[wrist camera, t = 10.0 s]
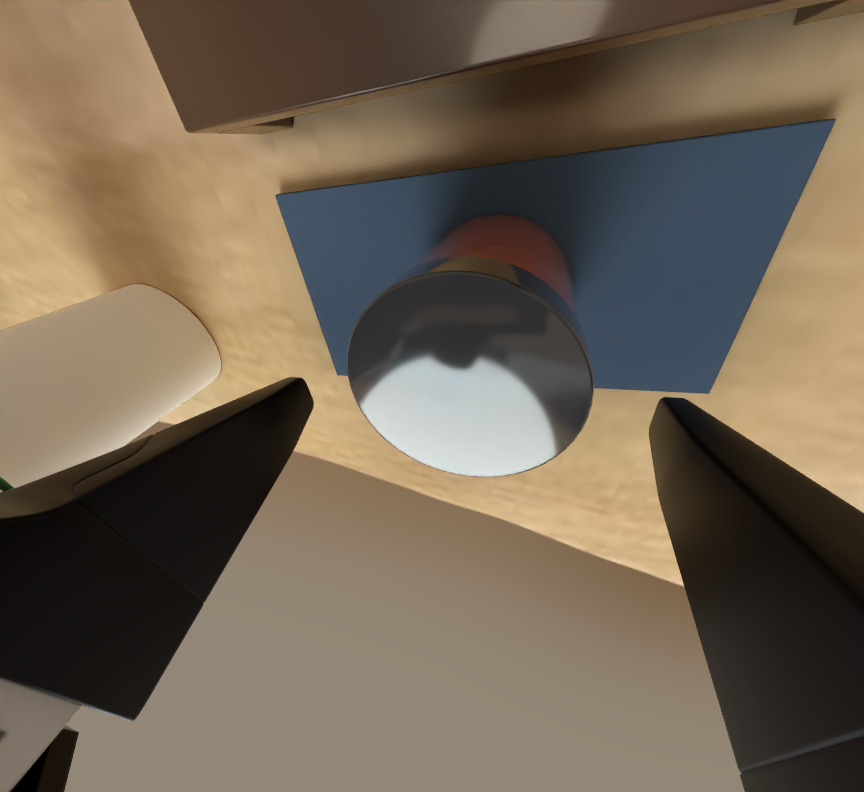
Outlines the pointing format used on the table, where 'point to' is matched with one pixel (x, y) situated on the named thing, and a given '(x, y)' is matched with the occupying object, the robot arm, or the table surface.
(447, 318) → the jar
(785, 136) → the mat
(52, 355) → the cylindrical container
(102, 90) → the table surface
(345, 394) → the table surface
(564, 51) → the shelf
